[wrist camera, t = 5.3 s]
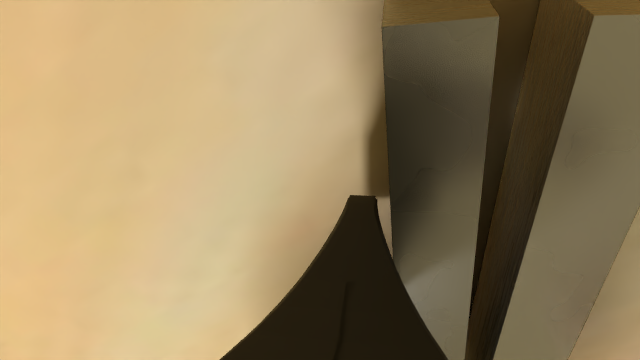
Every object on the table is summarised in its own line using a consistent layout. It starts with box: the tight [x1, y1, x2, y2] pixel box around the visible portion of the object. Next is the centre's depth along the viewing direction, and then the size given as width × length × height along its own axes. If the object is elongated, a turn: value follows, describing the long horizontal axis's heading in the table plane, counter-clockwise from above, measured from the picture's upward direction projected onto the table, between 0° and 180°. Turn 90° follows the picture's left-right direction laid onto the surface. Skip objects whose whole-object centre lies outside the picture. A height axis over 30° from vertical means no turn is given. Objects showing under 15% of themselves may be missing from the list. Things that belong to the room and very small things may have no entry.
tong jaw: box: [382, 0, 499, 360], centre depth 13 cm, size 17×3×3 cm, turn 8°
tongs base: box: [464, 0, 640, 360], centre depth 12 cm, size 17×5×4 cm, turn 4°
